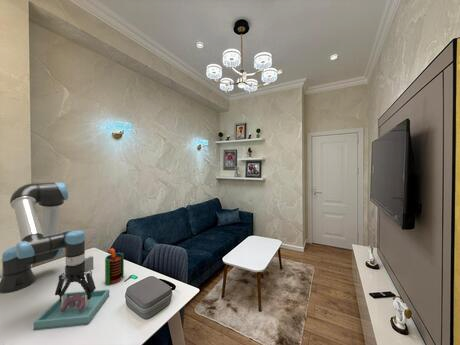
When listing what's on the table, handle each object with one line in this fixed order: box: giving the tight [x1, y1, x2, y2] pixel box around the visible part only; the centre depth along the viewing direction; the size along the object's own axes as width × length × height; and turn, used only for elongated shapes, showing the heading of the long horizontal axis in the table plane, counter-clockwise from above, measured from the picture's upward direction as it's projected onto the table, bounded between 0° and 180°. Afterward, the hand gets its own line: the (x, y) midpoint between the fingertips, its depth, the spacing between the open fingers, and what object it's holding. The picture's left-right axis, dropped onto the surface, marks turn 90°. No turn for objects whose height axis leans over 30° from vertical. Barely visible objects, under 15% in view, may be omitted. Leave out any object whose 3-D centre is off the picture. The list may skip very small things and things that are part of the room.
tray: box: [33, 288, 110, 331], centre depth 95 cm, size 22×20×4 cm
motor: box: [104, 248, 125, 286], centre depth 121 cm, size 10×9×20 cm
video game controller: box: [61, 294, 85, 312], centre depth 95 cm, size 10×5×7 cm, turn 92°
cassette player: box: [64, 255, 94, 282], centre depth 128 cm, size 16×3×10 cm, turn 157°
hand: (75, 306), depth 95 cm, fingers closed on video game controller, 10 cm apart
